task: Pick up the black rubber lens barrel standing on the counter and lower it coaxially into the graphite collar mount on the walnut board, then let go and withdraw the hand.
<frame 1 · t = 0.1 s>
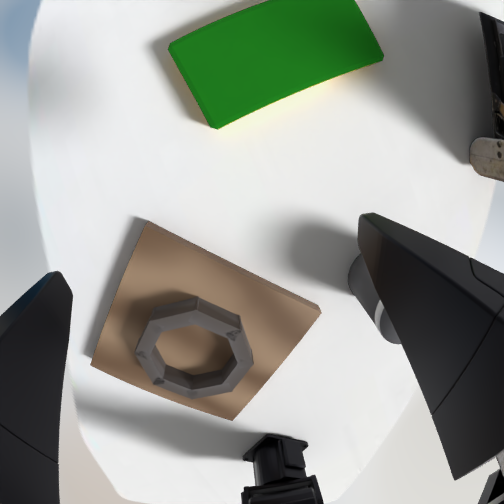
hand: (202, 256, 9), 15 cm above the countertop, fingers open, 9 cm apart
mount: (195, 337, 28), on the countertop
vintage camera: (492, 97, 22), on the countertop
dish sponge: (276, 52, 20), on the countertop
lens: (374, 273, 27), on the countertop
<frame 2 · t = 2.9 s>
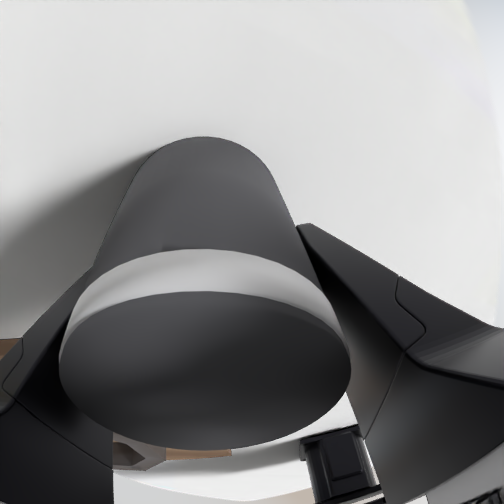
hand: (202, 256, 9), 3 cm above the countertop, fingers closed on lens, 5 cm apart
mount: (96, 409, 18), on the countertop
lens: (202, 210, 11), on the countertop, touching gripper
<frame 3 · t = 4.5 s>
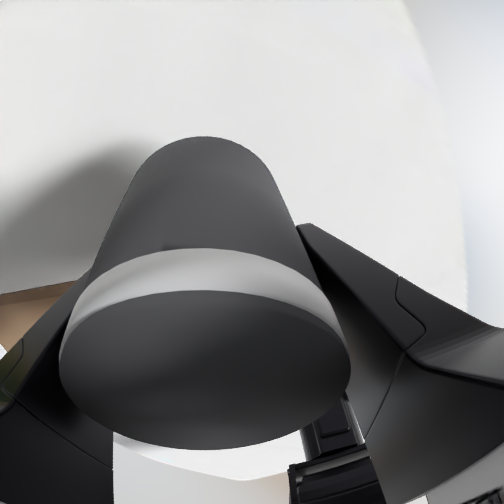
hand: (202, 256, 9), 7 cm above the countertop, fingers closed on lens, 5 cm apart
mount: (105, 361, 22), on the countertop
lens: (202, 210, 11), point 4 cm above the countertop, touching gripper
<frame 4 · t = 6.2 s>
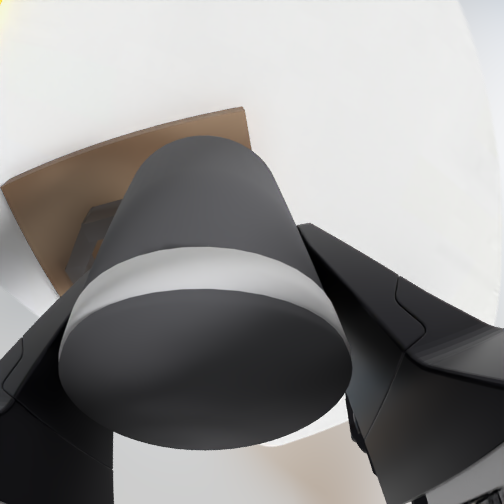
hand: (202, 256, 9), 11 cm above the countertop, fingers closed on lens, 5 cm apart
mount: (146, 250, 21), on the countertop
lens: (203, 209, 11), point 8 cm above the countertop, touching gripper
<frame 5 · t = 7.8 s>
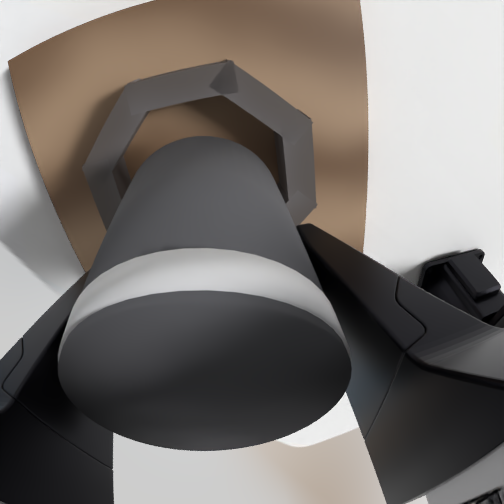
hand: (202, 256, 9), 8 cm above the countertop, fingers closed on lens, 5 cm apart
mount: (202, 158, 15), on the countertop
lens: (202, 210, 11), point 5 cm above the countertop, touching gripper
when the fingers open (4 cm above the countertop, at t = 9.3 s): lens stays where it is, resting on mount.
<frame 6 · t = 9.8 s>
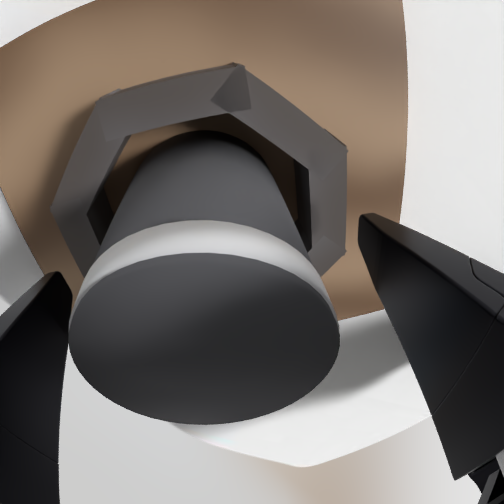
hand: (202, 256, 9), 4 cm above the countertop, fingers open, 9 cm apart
mount: (202, 187, 12), on the countertop
lens: (203, 200, 11), point 1 cm above the countertop, touching mount
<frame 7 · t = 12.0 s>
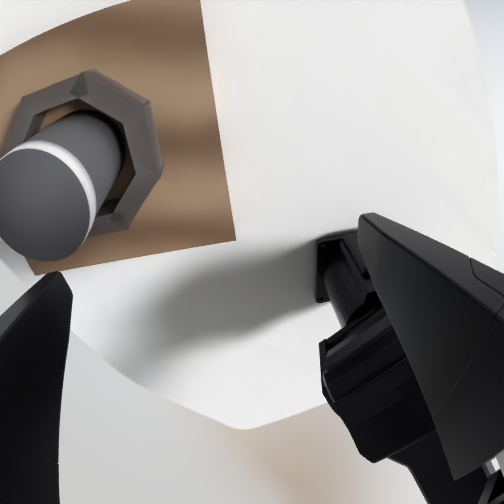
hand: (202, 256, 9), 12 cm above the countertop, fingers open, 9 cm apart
mount: (90, 146, 17), on the countertop
lens: (84, 151, 16), point 1 cm above the countertop, touching mount
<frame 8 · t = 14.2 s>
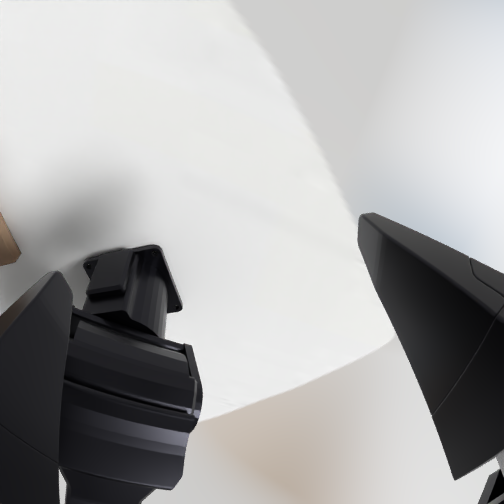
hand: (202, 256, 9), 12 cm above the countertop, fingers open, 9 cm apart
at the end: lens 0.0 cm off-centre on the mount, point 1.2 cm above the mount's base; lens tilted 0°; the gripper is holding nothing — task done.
